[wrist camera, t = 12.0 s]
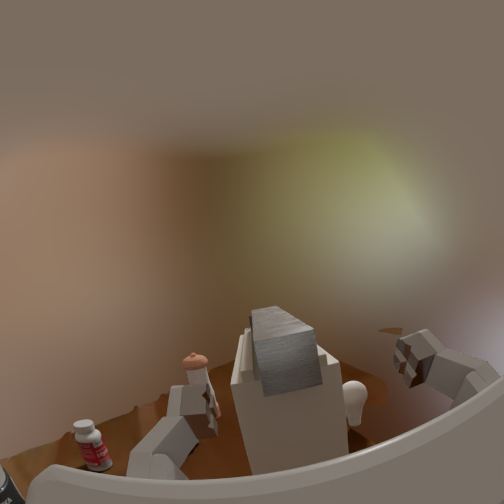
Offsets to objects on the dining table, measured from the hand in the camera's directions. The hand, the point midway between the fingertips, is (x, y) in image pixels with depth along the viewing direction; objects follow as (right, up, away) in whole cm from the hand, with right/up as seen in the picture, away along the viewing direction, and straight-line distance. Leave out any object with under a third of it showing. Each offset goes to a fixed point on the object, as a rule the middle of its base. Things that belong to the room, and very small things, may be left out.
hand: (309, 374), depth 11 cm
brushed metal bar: (0, -6, +20) cm, 21 cm away
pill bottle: (-35, -41, +30) cm, 61 cm away
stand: (+5, -32, +20) cm, 38 cm away
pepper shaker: (-14, -41, +58) cm, 72 cm away
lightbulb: (+19, -32, +38) cm, 53 cm away
